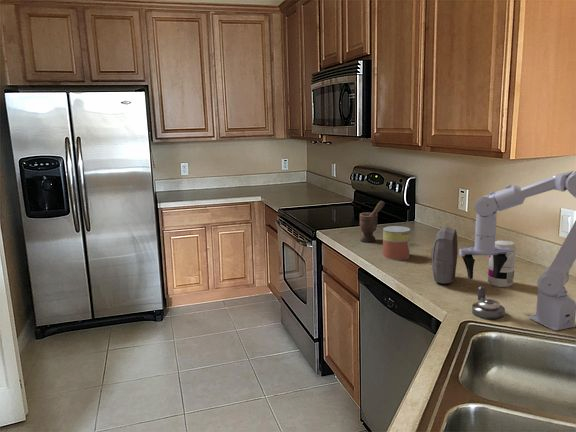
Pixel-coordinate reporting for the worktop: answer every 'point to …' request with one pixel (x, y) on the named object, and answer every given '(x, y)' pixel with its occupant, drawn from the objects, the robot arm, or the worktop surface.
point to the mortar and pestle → (369, 223)
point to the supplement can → (508, 268)
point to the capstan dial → (486, 300)
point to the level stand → (488, 312)
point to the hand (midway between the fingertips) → (482, 277)
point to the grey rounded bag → (445, 255)
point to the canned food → (396, 242)
